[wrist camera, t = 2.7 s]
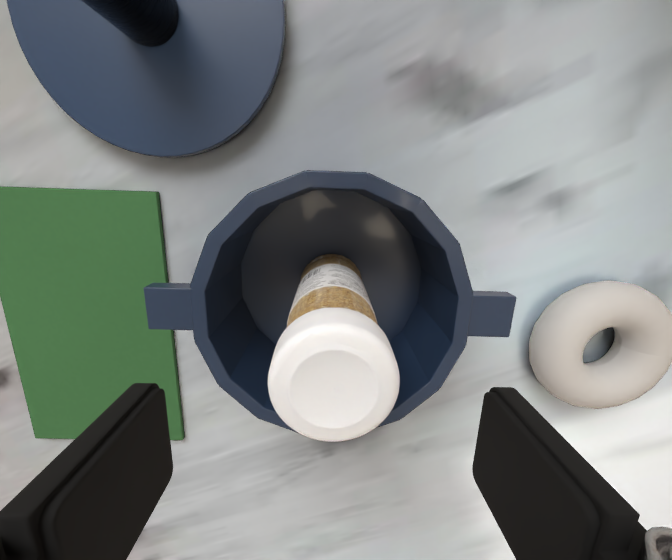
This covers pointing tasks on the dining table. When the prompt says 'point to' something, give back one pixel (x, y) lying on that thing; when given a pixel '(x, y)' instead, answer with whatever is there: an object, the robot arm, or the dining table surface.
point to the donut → (622, 358)
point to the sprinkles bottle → (333, 357)
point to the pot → (304, 246)
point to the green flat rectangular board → (84, 302)
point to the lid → (155, 66)
